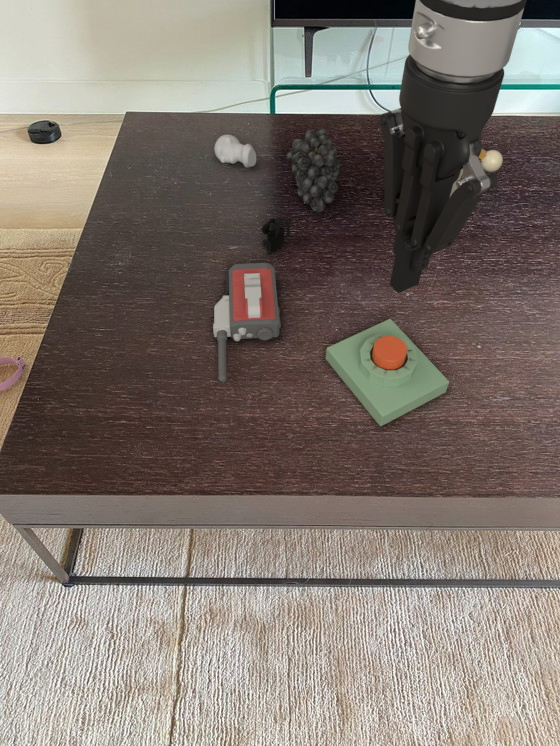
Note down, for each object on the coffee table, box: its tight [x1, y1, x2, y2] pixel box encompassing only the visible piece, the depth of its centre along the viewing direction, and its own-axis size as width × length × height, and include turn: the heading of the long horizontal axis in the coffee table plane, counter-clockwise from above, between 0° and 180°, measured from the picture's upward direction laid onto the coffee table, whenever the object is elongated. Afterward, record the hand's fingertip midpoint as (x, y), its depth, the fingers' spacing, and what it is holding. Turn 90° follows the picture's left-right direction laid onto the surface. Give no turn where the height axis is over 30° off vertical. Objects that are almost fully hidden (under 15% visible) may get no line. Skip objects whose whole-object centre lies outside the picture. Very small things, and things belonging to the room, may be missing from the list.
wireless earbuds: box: [261, 216, 292, 257], centre depth 91 cm, size 7×2×5 cm, turn 145°
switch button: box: [372, 336, 407, 370], centre depth 75 cm, size 4×4×2 cm
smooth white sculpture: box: [213, 134, 257, 169], centre depth 105 cm, size 4×8×5 cm
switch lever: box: [478, 148, 504, 173], centre depth 94 cm, size 13×3×3 cm, turn 75°
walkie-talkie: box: [212, 262, 282, 383], centre depth 81 cm, size 9×4×20 cm
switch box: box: [325, 318, 450, 427], centre depth 77 cm, size 12×10×4 cm
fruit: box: [286, 128, 341, 213], centre depth 98 cm, size 9×8×15 cm
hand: (404, 284), depth 66 cm, fingers closed
